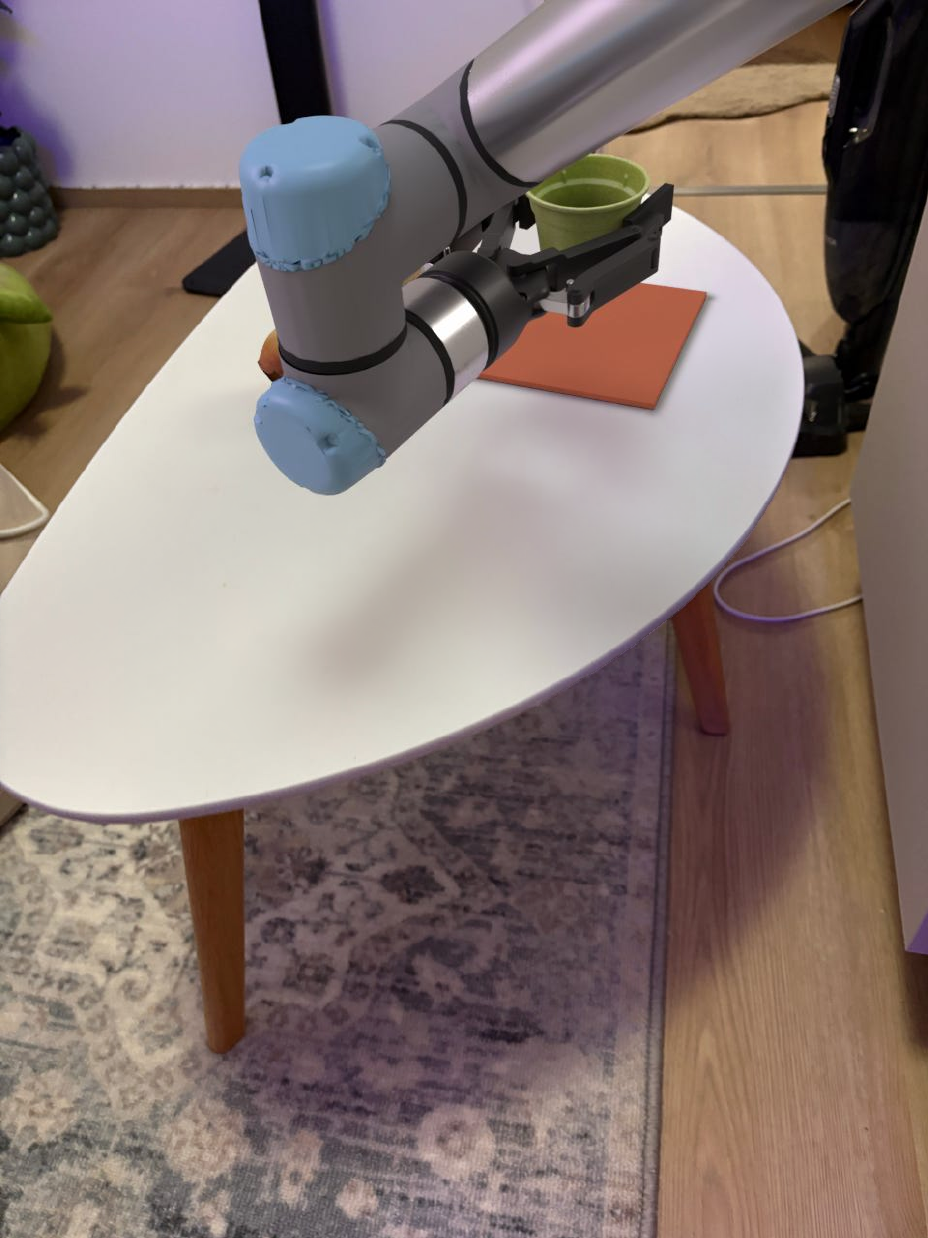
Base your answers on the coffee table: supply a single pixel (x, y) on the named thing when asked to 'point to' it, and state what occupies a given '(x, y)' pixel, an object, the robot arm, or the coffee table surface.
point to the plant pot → (587, 200)
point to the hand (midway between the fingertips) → (615, 189)
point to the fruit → (271, 358)
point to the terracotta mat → (605, 347)
